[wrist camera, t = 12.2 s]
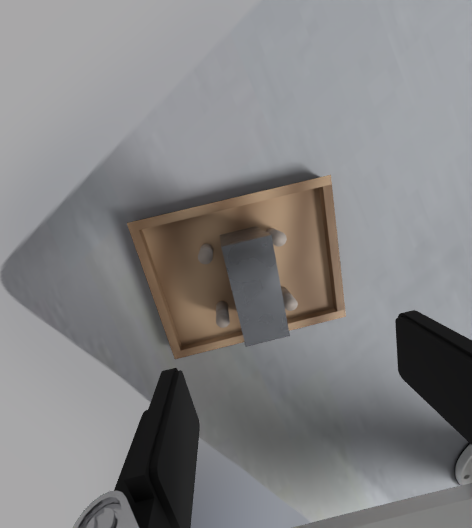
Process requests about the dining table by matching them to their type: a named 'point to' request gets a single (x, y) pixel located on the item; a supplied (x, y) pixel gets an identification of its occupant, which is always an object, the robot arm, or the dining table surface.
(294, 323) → the pin tray
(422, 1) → the dining table surface
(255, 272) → the block
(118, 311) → the dining table surface
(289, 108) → the dining table surface
